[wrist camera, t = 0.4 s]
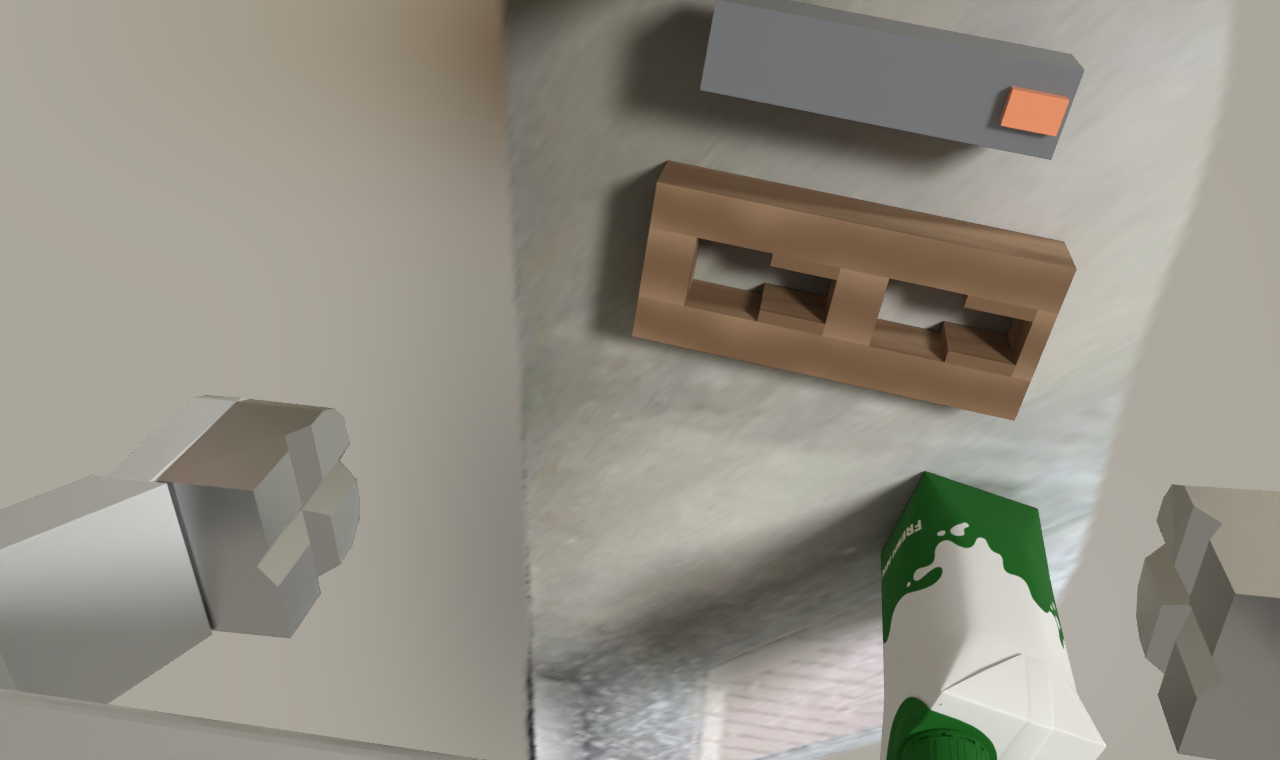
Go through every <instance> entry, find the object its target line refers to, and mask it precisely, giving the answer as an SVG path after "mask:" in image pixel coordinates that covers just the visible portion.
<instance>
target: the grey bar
mask: <svg viewBox="0 0 1280 760" xmlns="http://www.w3.org/2000/svg"><path fill="white" fill-rule="evenodd" d="M1083 73H1084V69H1083V68H1082V67H1081V65H1080V64H1079V63H1078V62H1077V60H1076V59H1075V58H1074V56H1073V55H1072V54H1067V53H1062V52H1057V51H1051V50H1046V49H1041V48H1036V47H1030V46H1025V45H1020V44H1015V43H1009V42H1004V41H999V40H994V39H988V38H983V37H978V36H973V35H967V34H962V33H957V32H952V31H946V30H941V29H936V28H931V27H925V26H920V25H915V24H910V23H905V22H899V21H894V20H889V19H884V18H878V17H873V16H868V15H863V14H857V13H852V12H847V11H842V10H836V9H831V8H826V7H821V6H815V5H810V4H805V3H800V2H794V1H789V0H716V2H715V8H714V13H713V19H712V25H711V30H710V36H709V42H708V47H707V53H706V58H705V64H704V70H703V75H702V81H701V87H700V90H703V91H708V92H713V93H718V94H723V95H728V96H733V97H738V98H743V99H748V100H753V101H758V102H763V103H768V104H773V105H778V106H783V107H788V108H793V109H798V110H803V111H808V112H813V113H818V114H823V115H828V116H833V117H838V118H843V119H848V120H853V121H858V122H863V123H868V124H873V125H878V126H883V127H888V128H893V129H898V130H903V131H908V132H913V133H918V134H923V135H928V136H933V137H938V138H943V139H948V140H954V141H959V142H964V143H969V144H974V145H979V146H984V147H989V148H994V149H999V150H1004V151H1009V152H1014V153H1019V154H1024V155H1029V156H1034V157H1039V158H1044V159H1049V160H1051V158H1052V156H1053V153H1054V150H1055V148H1056V145H1057V142H1058V140H1059V137H1060V134H1061V132H1062V129H1063V126H1064V124H1065V121H1066V118H1067V116H1068V113H1069V110H1070V107H1071V105H1072V102H1073V99H1074V97H1075V94H1076V91H1077V89H1078V86H1079V83H1080V81H1081V78H1082V75H1083Z"/></svg>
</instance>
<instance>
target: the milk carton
mask: <svg viewBox="0 0 1280 760" xmlns="http://www.w3.org/2000/svg"><path fill="white" fill-rule="evenodd" d="M881 581H882V619H883V659H884V713H883V727H882V741H881V754H880V760H1096V758H1097V757H1098V756H1099V755H1100V754H1101V752H1102V751H1103V750H1104V749H1105V747H1106V745H1105V743H1104V742H1103V739H1102V738H1101V736H1100V734H1099V732H1098V731H1097V729H1096V727H1095V725H1094V723H1093V722H1092V720H1091V718H1090V716H1089V714H1088V713H1087V711H1086V709H1085V707H1084V705H1083V704H1082V702H1081V700H1080V698H1079V697H1078V695H1077V691H1076V687H1075V683H1074V679H1073V675H1072V671H1071V667H1070V662H1069V658H1068V654H1067V650H1066V646H1065V641H1064V637H1063V633H1062V629H1061V625H1060V621H1059V616H1058V612H1057V608H1056V604H1055V600H1054V595H1053V591H1052V586H1051V581H1050V575H1049V570H1048V564H1047V558H1046V553H1045V547H1044V541H1043V536H1042V530H1041V524H1040V518H1039V513H1038V509H1037V508H1034V507H1031V506H1028V505H1025V504H1022V503H1019V502H1016V501H1013V500H1010V499H1007V498H1004V497H1001V496H998V495H995V494H992V493H989V492H986V491H983V490H980V489H977V488H974V487H971V486H968V485H965V484H962V483H959V482H956V481H953V480H950V479H947V478H944V477H941V476H938V475H935V474H932V473H929V472H926V471H925V473H924V474H923V476H922V478H921V480H920V482H919V484H918V486H917V488H916V489H915V491H914V493H913V495H912V497H911V499H910V501H909V502H908V504H907V506H906V508H905V510H904V512H903V514H902V515H901V517H900V519H899V521H898V523H897V525H896V527H895V529H894V530H893V532H892V534H891V536H890V538H889V540H888V542H887V543H886V545H885V547H884V549H883V551H882V553H881Z"/></svg>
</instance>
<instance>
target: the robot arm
mask: <svg viewBox="0 0 1280 760" xmlns="http://www.w3.org/2000/svg"><path fill="white" fill-rule="evenodd" d="M349 445H350V442H349V438H348V434H347V429H346V425H345V420H344V417H343V416H342V415H341V414H340V413H338V412H337V411H336V410H335V409H334V408H326V407H317V406H308V405H299V404H290V403H281V402H272V401H263V400H254V399H248V400H246V399H244V398H236V397H223V396H211V395H206V396H199V397H194V398H192V399H191V400H190V401H189V402H188V403H187V404H186V405H185V406H183V407H182V408H181V409H180V410H179V411H178V412H177V413H176V414H175V415H173V416H172V417H171V418H170V419H169V420H168V421H167V422H166V423H165V424H163V425H162V426H161V427H160V428H159V429H158V430H157V431H156V432H155V433H153V434H152V435H151V436H150V437H149V438H148V439H147V440H146V441H145V442H143V443H142V444H141V445H140V446H139V447H138V448H137V449H136V450H134V452H132V453H131V454H130V455H129V456H128V457H127V458H126V459H124V460H123V461H122V462H121V463H120V464H119V465H118V466H117V467H115V468H114V469H113V470H112V471H111V472H110V473H109V474H108V475H107V476H105V477H104V476H103V477H102V476H92V475H91V476H89V477H86V478H83V479H81V480H78V481H75V482H73V483H70V484H67V485H65V486H62V487H59V488H57V489H54V490H52V491H49V492H46V493H44V494H41V495H38V496H36V497H33V498H31V499H28V500H25V501H22V502H20V503H17V504H15V505H12V506H9V507H7V508H4V509H1V510H0V760H485V759H478V758H471V757H464V756H456V755H450V754H443V753H437V752H429V751H423V750H415V749H409V748H402V747H395V746H389V745H382V744H375V743H368V742H362V741H354V740H347V739H341V738H334V737H327V736H321V735H314V734H307V733H300V732H293V731H287V730H280V729H273V728H266V727H259V726H252V725H246V724H238V723H232V722H225V721H218V720H211V719H204V718H198V717H191V716H184V715H177V714H170V713H164V712H157V711H150V710H143V709H136V708H130V707H123V706H116V705H109V704H108V703H109V702H111V701H113V700H114V699H116V698H117V697H119V696H120V695H122V694H123V693H125V692H126V691H127V690H129V689H130V688H132V687H134V686H135V685H137V684H138V683H140V682H141V681H143V680H144V679H146V678H147V677H149V676H150V675H152V674H153V673H155V672H156V671H158V670H159V669H161V668H162V667H164V666H165V665H167V664H168V663H170V662H171V661H173V660H174V659H176V658H177V657H179V656H180V655H182V654H183V653H185V652H186V651H188V650H190V649H191V648H193V647H194V646H196V645H197V644H199V643H200V642H202V641H203V640H204V639H206V638H208V637H209V636H211V635H212V631H211V630H213V631H223V632H233V633H243V634H254V635H263V636H273V637H283V638H291V637H292V635H293V634H294V633H295V631H296V629H297V628H298V627H299V625H300V624H301V622H302V621H303V619H304V618H305V616H306V615H307V613H308V612H309V610H310V609H311V607H312V606H313V605H314V603H315V602H316V600H317V599H318V597H319V596H320V594H321V591H320V586H319V582H318V576H320V575H322V574H324V573H326V572H327V571H329V570H331V569H333V568H335V567H337V566H339V565H340V564H341V563H342V561H343V560H344V558H345V556H346V555H347V553H348V551H349V550H350V549H351V547H352V544H353V541H354V538H355V534H356V531H357V527H358V523H359V520H360V496H359V491H358V484H357V479H356V478H355V477H354V476H353V475H352V474H351V472H350V471H349V470H348V469H347V468H346V467H345V466H344V465H343V464H342V462H341V461H340V459H341V457H342V456H343V454H344V453H345V451H346V450H347V448H348V446H349ZM1157 523H1158V526H1159V528H1160V531H1161V533H1162V536H1163V538H1164V541H1165V544H1164V545H1163V546H1161V547H1160V548H1159V549H1157V550H1156V551H1155V552H1154V553H1152V554H1151V555H1149V556H1148V557H1146V558H1145V561H1144V565H1143V569H1142V573H1141V577H1140V580H1139V584H1138V591H1137V610H1136V611H1137V612H1136V618H1137V625H1138V631H1139V638H1140V641H1141V645H1142V648H1143V651H1144V654H1145V658H1146V659H1148V660H1149V661H1150V662H1151V663H1152V664H1153V665H1155V666H1156V667H1157V668H1158V669H1159V670H1161V671H1162V672H1163V673H1164V678H1163V680H1162V684H1161V687H1160V690H1159V693H1158V697H1159V700H1160V703H1161V706H1162V709H1163V711H1164V715H1165V717H1166V720H1167V723H1168V726H1169V729H1170V732H1171V735H1172V738H1173V741H1174V744H1175V747H1176V750H1177V753H1178V754H1184V755H1190V756H1197V757H1203V758H1209V759H1216V760H1280V492H1275V491H1261V490H1247V489H1232V488H1218V487H1204V486H1190V485H1175V484H1172V485H1171V487H1170V488H1169V490H1168V492H1167V493H1166V495H1165V496H1164V498H1163V501H1162V504H1161V507H1160V510H1159V514H1158V517H1157Z"/></svg>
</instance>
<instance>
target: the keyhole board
mask: <svg viewBox="0 0 1280 760" xmlns="http://www.w3.org/2000/svg"><path fill="white" fill-rule="evenodd" d="M700 239H706V240H711V241H715V242H720V243H725V244H730V245H734V246H739V247H744V248H748V249H753V250H758V251H763V252H767V253H772V259H771V265H770V266H772V267H777V268H782V269H787V270H791V271H796V272H801V273H805V274H810V275H815V276H819V277H824V278H829V279H832V280H831V283H830V287H829V291H828V294H827V296H824V295H819V294H815V293H810V292H805V291H801V290H796V289H791V288H787V287H782V286H777V285H773V284H768V283H765V285H764V290H763V294H760V293H756V292H751V291H746V290H742V289H737V288H732V287H728V286H723V285H718V284H714V283H709V282H705V281H700V280H695V279H693V276H694V271H695V265H696V260H697V255H698V250H699V245H700ZM1075 272H1076V267H1075V265H1074V262H1073V260H1072V258H1071V256H1070V254H1069V251H1068V249H1067V247H1066V245H1065V242H1062V241H1057V240H1052V239H1048V238H1043V237H1038V236H1033V235H1028V234H1023V233H1018V232H1014V231H1009V230H1004V229H999V228H994V227H989V226H984V225H980V224H975V223H970V222H965V221H960V220H955V219H950V218H946V217H941V216H936V215H931V214H926V213H921V212H916V211H912V210H907V209H902V208H897V207H892V206H887V205H882V204H878V203H873V202H868V201H863V200H858V199H853V198H848V197H844V196H839V195H834V194H829V193H824V192H819V191H814V190H810V189H805V188H800V187H795V186H790V185H785V184H780V183H776V182H771V181H766V180H761V179H756V178H751V177H746V176H742V175H737V174H732V173H727V172H722V171H717V170H712V169H708V168H703V167H698V166H693V165H688V164H683V163H678V162H674V161H669V160H668V161H667V163H666V165H665V167H664V169H663V171H662V173H661V175H660V177H659V179H658V181H657V185H656V191H655V197H654V203H653V210H652V216H651V222H650V228H649V234H648V240H647V246H646V253H645V259H644V265H643V271H642V277H641V283H640V289H639V296H638V302H637V308H636V314H635V320H634V326H633V332H632V336H634V337H638V338H643V339H647V340H652V341H656V342H661V343H665V344H670V345H674V346H679V347H683V348H688V349H692V350H697V351H702V352H706V353H711V354H715V355H720V356H724V357H729V358H733V359H738V360H742V361H747V362H751V363H756V364H760V365H765V366H769V367H774V368H778V369H783V370H787V371H792V372H797V373H801V374H806V375H810V376H815V377H819V378H824V379H828V380H833V381H837V382H842V383H846V384H851V385H855V386H860V387H864V388H869V389H873V390H878V391H882V392H887V393H892V394H896V395H901V396H905V397H910V398H914V399H919V400H923V401H928V402H932V403H937V404H941V405H946V406H950V407H955V408H959V409H964V410H968V411H973V412H977V413H982V414H987V415H991V416H996V417H1000V418H1005V419H1009V420H1014V421H1015V418H1016V416H1017V413H1018V411H1019V408H1020V406H1021V403H1022V401H1023V399H1024V396H1025V394H1026V391H1027V389H1028V386H1029V384H1030V382H1031V379H1032V377H1033V374H1034V372H1035V369H1036V367H1037V364H1038V362H1039V360H1040V357H1041V355H1042V352H1043V350H1044V347H1045V345H1046V343H1047V340H1048V338H1049V335H1050V333H1051V330H1052V328H1053V325H1054V323H1055V321H1056V318H1057V316H1058V313H1059V311H1060V308H1061V306H1062V303H1063V301H1064V299H1065V296H1066V294H1067V291H1068V289H1069V286H1070V284H1071V282H1072V279H1073V277H1074V274H1075ZM889 278H890V279H895V280H900V281H904V282H909V283H914V284H919V285H923V286H928V287H933V288H937V289H942V290H947V291H952V292H956V293H961V295H962V300H963V305H964V307H965V308H970V309H975V310H979V311H984V312H989V313H993V314H998V315H1003V316H1007V317H1012V318H1014V319H1013V322H1012V324H1011V327H1010V330H1009V332H1008V335H1006V334H1001V333H997V332H992V331H987V330H983V329H978V328H973V327H969V326H964V325H959V324H955V323H950V322H945V321H944V322H943V325H942V328H941V331H940V332H937V331H932V330H928V329H923V328H918V327H914V326H909V325H904V324H900V323H895V322H890V321H886V320H881V319H877V318H878V314H879V311H880V308H881V305H882V301H883V298H884V295H885V291H886V288H887V285H888V282H889Z"/></svg>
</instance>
